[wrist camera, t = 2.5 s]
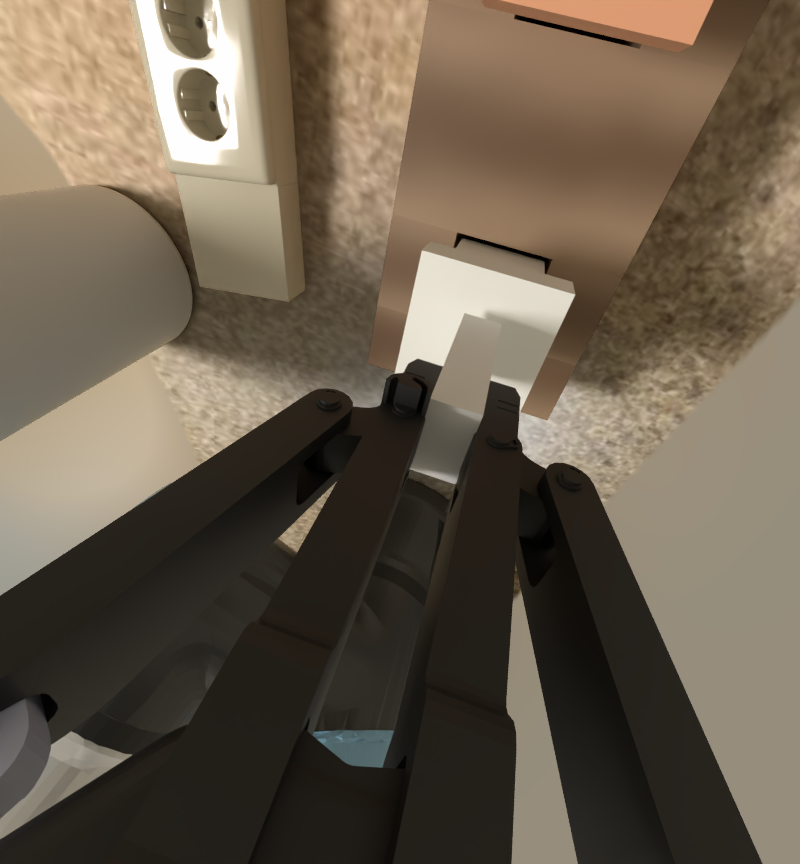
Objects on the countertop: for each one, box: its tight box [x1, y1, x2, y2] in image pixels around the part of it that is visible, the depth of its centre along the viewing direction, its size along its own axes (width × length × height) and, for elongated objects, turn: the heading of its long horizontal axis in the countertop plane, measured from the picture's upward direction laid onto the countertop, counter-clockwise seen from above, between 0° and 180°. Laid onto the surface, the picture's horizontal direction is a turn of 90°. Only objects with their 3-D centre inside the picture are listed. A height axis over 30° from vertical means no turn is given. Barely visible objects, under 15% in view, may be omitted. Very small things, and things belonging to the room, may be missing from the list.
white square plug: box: [395, 238, 575, 413], centre depth 21 cm, size 6×6×7 cm
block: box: [367, 0, 769, 420], centre depth 21 cm, size 26×12×6 cm, turn 168°
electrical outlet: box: [128, 0, 305, 302], centre depth 26 cm, size 7×4×18 cm
